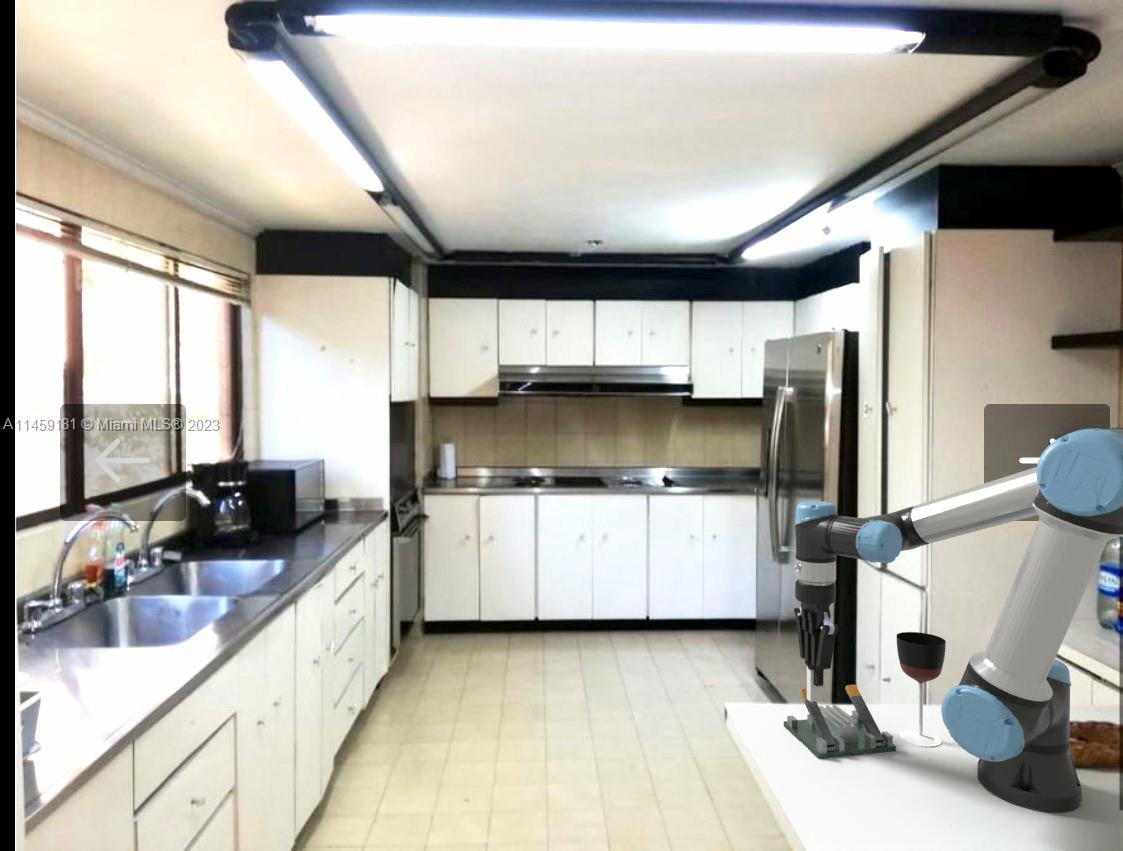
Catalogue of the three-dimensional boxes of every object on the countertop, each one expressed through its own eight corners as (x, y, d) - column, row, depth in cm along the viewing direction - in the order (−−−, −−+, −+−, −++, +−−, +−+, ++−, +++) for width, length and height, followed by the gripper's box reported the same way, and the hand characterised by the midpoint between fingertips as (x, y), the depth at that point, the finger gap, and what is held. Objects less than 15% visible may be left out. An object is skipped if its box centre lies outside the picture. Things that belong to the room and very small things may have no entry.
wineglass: (943, 752, 137) (944, 647, 136) (893, 741, 142) (894, 640, 141) (946, 735, 144) (947, 636, 143) (898, 725, 148) (899, 629, 148)
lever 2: (882, 742, 138) (884, 739, 138) (873, 743, 138) (874, 740, 137) (853, 687, 148) (855, 684, 147) (844, 688, 147) (846, 685, 147)
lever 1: (834, 746, 137) (836, 744, 136) (824, 747, 136) (826, 744, 136) (808, 691, 146) (810, 688, 146) (799, 691, 146) (800, 688, 145)
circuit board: (896, 751, 137) (896, 725, 137) (818, 758, 135) (818, 732, 135) (854, 719, 151) (855, 696, 151) (783, 726, 149) (783, 702, 149)
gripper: (782, 573, 147) (781, 688, 147) (814, 590, 134) (814, 715, 135) (816, 572, 148) (815, 685, 149) (851, 588, 135) (851, 712, 136)
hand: (815, 699), depth 142 cm, fingers closed
